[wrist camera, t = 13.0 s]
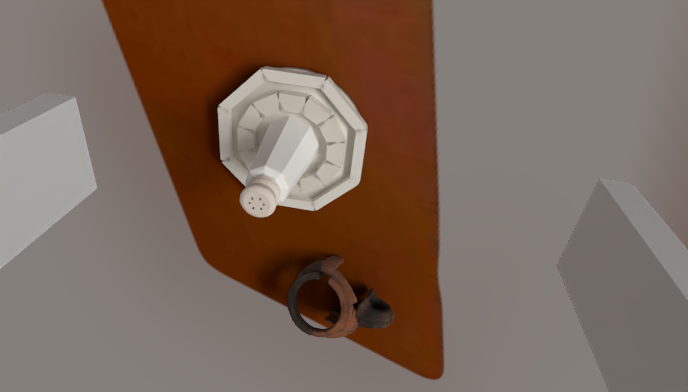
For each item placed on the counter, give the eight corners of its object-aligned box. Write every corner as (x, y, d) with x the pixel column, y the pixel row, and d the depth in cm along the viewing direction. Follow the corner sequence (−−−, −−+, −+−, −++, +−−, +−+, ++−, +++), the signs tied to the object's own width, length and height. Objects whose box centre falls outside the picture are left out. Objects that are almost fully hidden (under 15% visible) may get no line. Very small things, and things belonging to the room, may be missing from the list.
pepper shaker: (266, 164, 44) (226, 229, 34) (262, 113, 41) (217, 169, 32) (319, 169, 43) (293, 236, 34) (319, 117, 40) (290, 175, 31)
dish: (222, 56, 39) (214, 62, 38) (375, 78, 39) (373, 85, 37) (228, 187, 47) (221, 196, 45) (356, 208, 46) (354, 218, 44)
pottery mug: (312, 314, 57) (278, 337, 49) (316, 243, 56) (282, 256, 48) (401, 336, 52) (378, 365, 44) (408, 258, 51) (386, 275, 43)
